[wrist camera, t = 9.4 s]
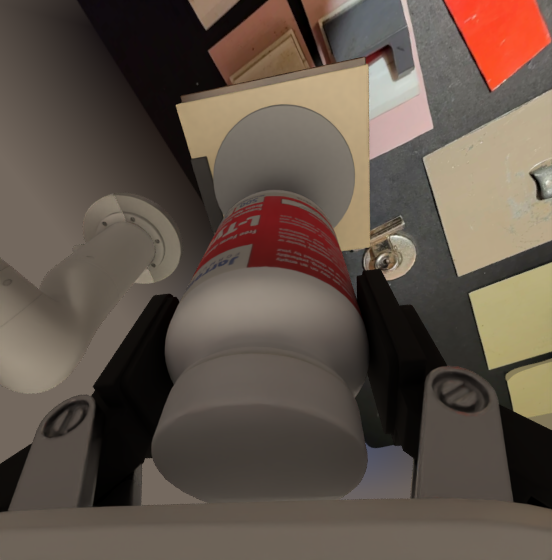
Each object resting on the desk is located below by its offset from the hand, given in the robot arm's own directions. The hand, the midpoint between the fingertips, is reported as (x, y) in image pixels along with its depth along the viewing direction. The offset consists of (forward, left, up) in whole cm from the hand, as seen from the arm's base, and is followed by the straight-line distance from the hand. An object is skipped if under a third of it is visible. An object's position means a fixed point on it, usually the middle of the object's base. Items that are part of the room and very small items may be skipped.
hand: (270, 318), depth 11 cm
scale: (+1, +2, -15) cm, 15 cm away
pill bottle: (0, 0, -6) cm, 6 cm away
